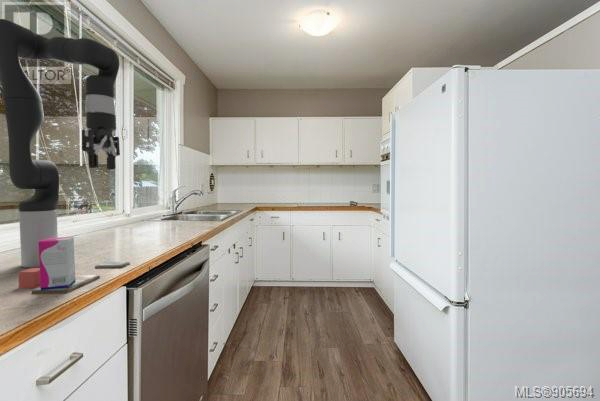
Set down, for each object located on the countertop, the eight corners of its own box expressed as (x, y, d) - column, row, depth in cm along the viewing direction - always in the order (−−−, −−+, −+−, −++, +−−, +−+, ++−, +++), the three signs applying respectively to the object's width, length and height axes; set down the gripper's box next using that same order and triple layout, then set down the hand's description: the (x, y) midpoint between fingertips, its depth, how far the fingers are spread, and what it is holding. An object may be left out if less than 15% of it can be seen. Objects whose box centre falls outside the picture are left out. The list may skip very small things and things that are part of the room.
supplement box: (76, 280, 81) (74, 236, 81) (69, 287, 76) (68, 239, 75) (48, 283, 79) (46, 237, 78) (39, 290, 73) (37, 241, 73)
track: (66, 293, 74) (66, 289, 74) (31, 293, 74) (31, 290, 74) (129, 263, 102) (129, 261, 102) (104, 264, 102) (104, 261, 102)
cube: (34, 272, 78) (18, 272, 78) (35, 288, 78) (19, 288, 78) (47, 267, 82) (32, 267, 82) (48, 283, 82) (32, 283, 82)
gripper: (103, 118, 101) (104, 169, 101) (71, 107, 86) (73, 167, 87) (126, 118, 101) (128, 169, 101) (98, 107, 87) (100, 167, 87)
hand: (102, 168), depth 94 cm, fingers open, 8 cm apart
